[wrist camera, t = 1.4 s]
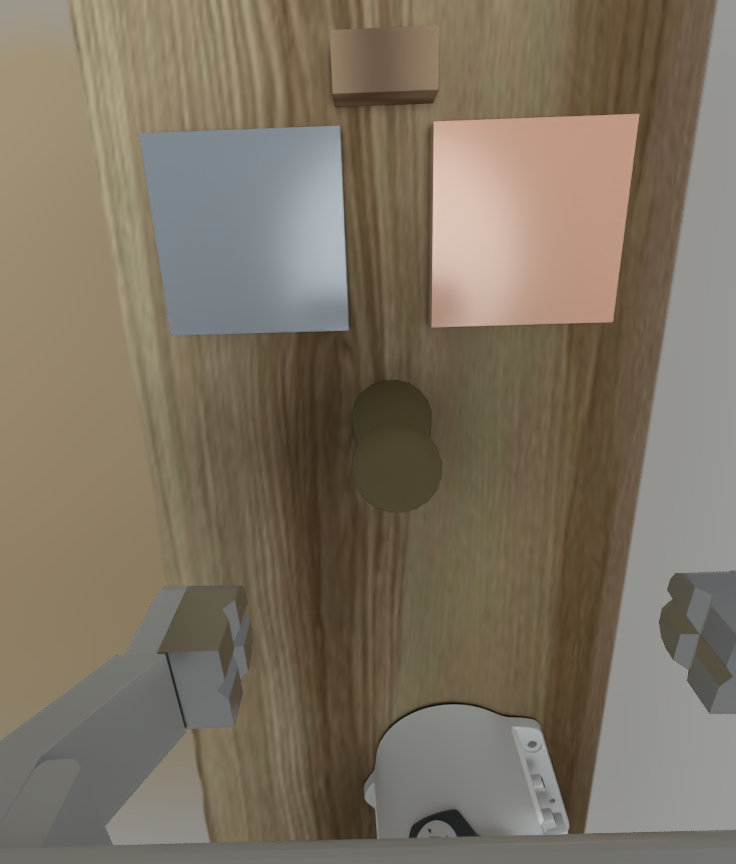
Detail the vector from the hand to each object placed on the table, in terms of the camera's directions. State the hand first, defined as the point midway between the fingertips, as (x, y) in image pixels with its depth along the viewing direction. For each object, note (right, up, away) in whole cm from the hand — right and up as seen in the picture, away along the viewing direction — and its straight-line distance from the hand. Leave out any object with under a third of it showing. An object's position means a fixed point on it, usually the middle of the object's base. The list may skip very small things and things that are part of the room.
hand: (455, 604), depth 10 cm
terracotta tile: (+8, +17, +24) cm, 30 cm away
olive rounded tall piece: (0, +4, +29) cm, 29 cm away
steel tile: (-9, +16, +24) cm, 31 cm away
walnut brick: (-1, +25, +21) cm, 33 cm away
